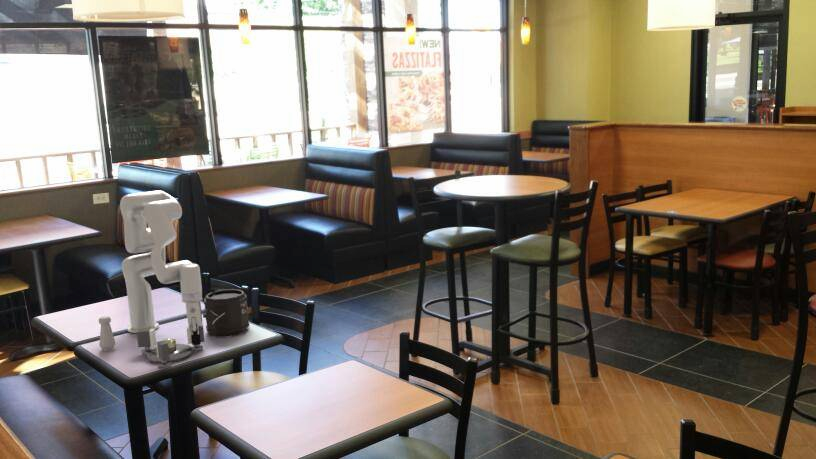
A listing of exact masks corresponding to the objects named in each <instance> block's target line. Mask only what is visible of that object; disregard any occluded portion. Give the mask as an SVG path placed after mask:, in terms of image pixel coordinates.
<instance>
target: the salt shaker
mask: <svg viewBox="0 0 816 459" xmlns="http://www.w3.org/2000/svg"><path fill="white" fill-rule="evenodd" d="M111 322H112V319H111V317H110V316H106V315H104V316H101V317H99V318H98V324H99V325H100V333H99V334H100V335H99V343H98V344H99V347H100V349H102V351H103V352H109V351H112V349H113V348H114V349H115V346H116V339H115V336H114V333H113V330H112V327H111ZM114 349H113V350H114Z"/></svg>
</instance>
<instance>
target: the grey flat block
mask: <svg viewBox="0 0 816 459" xmlns="http://www.w3.org/2000/svg"><path fill="white" fill-rule="evenodd" d="M155 331H156V329H148V330H138V331H137V333H136V338H137V347H138V348H144V350H145V351H149V350H150V349H151V347H156V341H157V339H156V332H155Z"/></svg>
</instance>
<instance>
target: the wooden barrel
mask: <svg viewBox="0 0 816 459" xmlns="http://www.w3.org/2000/svg"><path fill="white" fill-rule="evenodd" d="M247 300H248V297H247V294H246V293H245V292H244V290H242V289H235V288H230V289H228V288H227V289H220V290H215V291H213V292H211V291H210V293H206V295H205V297H204V298H203V304H204V313H202V319H205V322H206V325H205V329H206V332H207V333H208V334H209V336H212V337H216V338H226V337H227V338H229V337H234V336H238V335H242V334H244V333H245V332H247V331H248V328H249V327H250V324H251V323H250V322H249V308H248V307H249V306H248V303H247Z"/></svg>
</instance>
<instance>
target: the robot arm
mask: <svg viewBox="0 0 816 459" xmlns="http://www.w3.org/2000/svg"><path fill="white" fill-rule="evenodd" d="M119 209H120V212H121V216H122V218H123V224H124V227H123V229H124V230H123V232H124V245H125V249H126V251H127V253H130V254H135V255H130V256H128V257H126V258H124V259H123V261H122V262H121V270H122V274H123V277H124V280H125V286H126V294H127V295H126V296H127V302H128V311H129V312H128V313H129V319H130V325H129V326H128V327H127V332H128V333H132V334H137V331H138V330H148V329H155V330H157V329H159V327H160V324H159V323H158V322H157V321H155V312H154V306H153V305H154V303H153V302H154V301H153V294H152V292H153V291H152V287H151V284H150V283H149V282H148V281H147V280H146V279H145V277H149V276H154V275H155V276H156V278H157V280H158V281H159V282H160V283H161V284H164V285H167V284H172V283H177V282H179V283H180V295H181V301H182V303H185V309H186V319H187V325H188V327H189V328H191V333H192V335H191V339H192V344H191V345H192V346H194V345H198V344H199V345H202V342H201V340H200V334H199V326H200V327H202V325H203V313H202V304H201V301H204V298H203V286H202V278H201V268H200V265H199V264H197V263H194V262H192V261H190V260H188V259H185V260H183V259H182V260H179V261H174V262H168V263H166V261H167V260H166V246H168V245H169V244H172V243H173V242H174V241H175V240H176V238H177V236H178V235H177V231H176V230H175V226H174V224H173V222H172V221H176V220H179V219H181V217H182V215H183V209H182V206H181V204H180V202H179V201H178V200H177V199H176V198H174V197H173V196H171V194H169V193H167V192H165V191H164V190H150V191H141V192H136V193H130V194H125V195H123V197H122V196H121V200H120V201H119ZM147 225H148V227H147ZM139 253H140V254H139ZM192 326H193V327H192ZM196 328H197V329H196Z"/></svg>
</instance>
